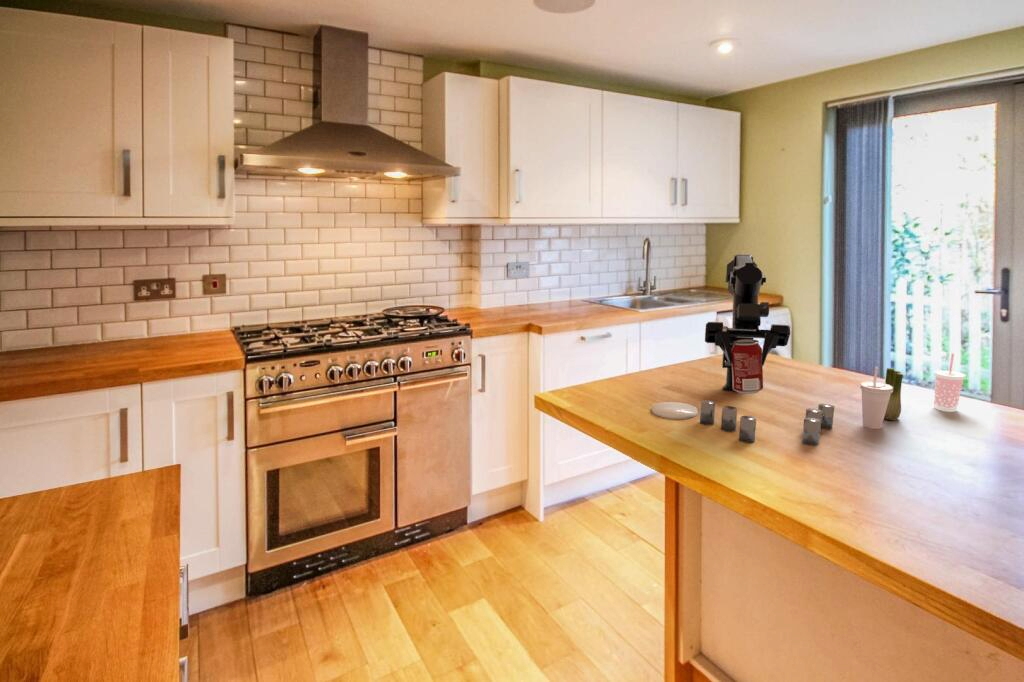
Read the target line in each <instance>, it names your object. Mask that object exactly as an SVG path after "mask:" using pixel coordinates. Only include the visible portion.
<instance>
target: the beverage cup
mask: <svg viewBox="0 0 1024 682" xmlns="http://www.w3.org/2000/svg"><path fill="white" fill-rule="evenodd" d="M954 357H955V353H954V352H953V353H951V356H950V362H949V363H950V364H949V368H948V369H949V370H943V369H942V370H936V371H934V376H935V386H934V400H933V409H935V410H938V411H941V412H942V411H943V412H948V413H949V412H952V413H953V412H956V411H957V409H958V404H959V400H960V396H961V392H962V387H963V383H964V380H966V379H965V378H966V374H964V373H963V372H959V371H954V370H953V365H954V364H953V363H954Z"/></svg>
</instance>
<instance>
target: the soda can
mask: <svg viewBox="0 0 1024 682" xmlns="http://www.w3.org/2000/svg"><path fill="white" fill-rule="evenodd" d="M762 350H763V347H761V345H760V344H759V340H758V339H754V340H752V339H744V340H737V341H734V345H733V347H732V349H731V355H732V385H733V390H735V391H734V392H737V393H738V394H741V395H754V394H758V393H759V392H761V391H763V390H764V377H763V376H764V374H763V373H764V372H763V371H764V370H763V369H764V368H763V367H764V365H763V366H762Z"/></svg>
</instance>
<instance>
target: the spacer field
mask: <svg viewBox="0 0 1024 682" xmlns="http://www.w3.org/2000/svg"><path fill="white" fill-rule="evenodd" d="M715 412H716V402H715V401H713V400H705V399H704V400H702V401H700V416H699V423H700V424H701V425H704V426H714V425H715V417H716V413H715ZM834 413H835V405H833V404H831V403H818V409H817V408H806V409H805V417H804V419H803V427H802V438H801V442H802V443H803V444H805V445H807V446H818V445H819V443H820V435H821V429H822V428H823V429H824V430H831V429H833V424H834V416H835V415H834ZM737 417H738V408H737V407H734V406H730V405H729V406H728V405H724V406H722V408H721V423H720V424H721V425H720V430H721V431H723V432H727V433H733V432H736V430H737V419H738V418H737ZM739 418H740V420H739V434H738V441H740V442H741V443H746V444H753V443H755V441H756V430H757V429H756V428H757V418H756V417H754V416H752V415H743V416H740V417H739ZM823 429H822V430H823Z"/></svg>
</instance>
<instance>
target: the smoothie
mask: <svg viewBox="0 0 1024 682" xmlns="http://www.w3.org/2000/svg"><path fill="white" fill-rule="evenodd" d="M878 370H879V367H878V366H875V367H874V375H873V381H864V382H861V383H860V387H859V388H860V390H861V413H862V414H861V415H862V416H861V417H862V427H864V428H867V429H871V430H880V429H882V427H883V423H884V420H885V419H884V416H885V413H886V409H887V405H888V402H889V398H890V394H891V393H892V392H893V387H892V386H890V385H888V384H885V383H883V382H877V379H878Z"/></svg>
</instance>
